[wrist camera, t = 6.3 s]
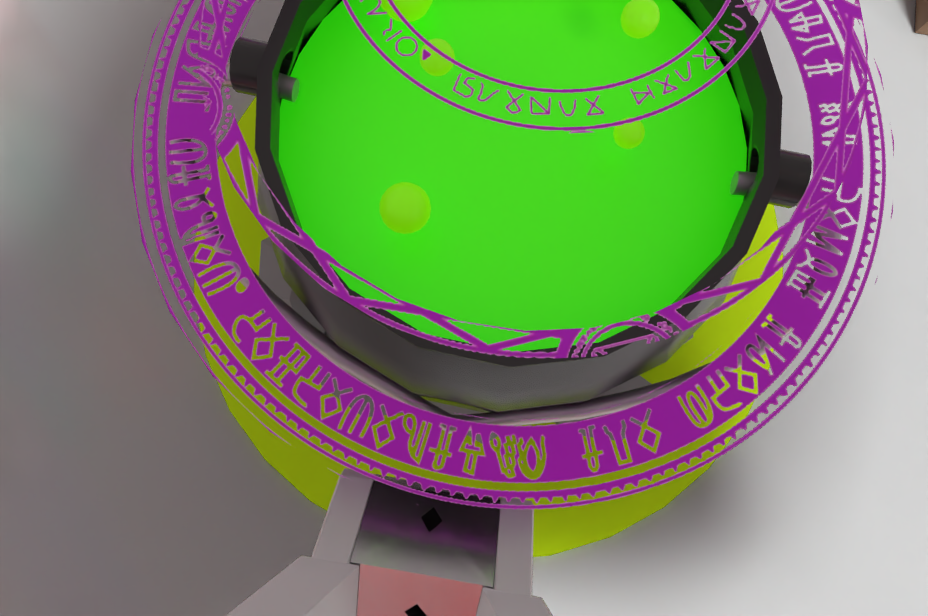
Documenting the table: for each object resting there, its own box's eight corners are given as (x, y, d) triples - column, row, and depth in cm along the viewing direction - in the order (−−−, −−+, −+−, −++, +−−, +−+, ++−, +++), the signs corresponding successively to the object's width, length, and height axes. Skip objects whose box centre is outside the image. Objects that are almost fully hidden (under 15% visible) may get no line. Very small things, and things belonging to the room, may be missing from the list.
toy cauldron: (115, 483, 16) (-622, 568, 5) (284, -52, 19) (59, -727, 8) (740, 624, 15) (1430, 1055, 5) (809, 55, 18) (1320, -500, 8)
